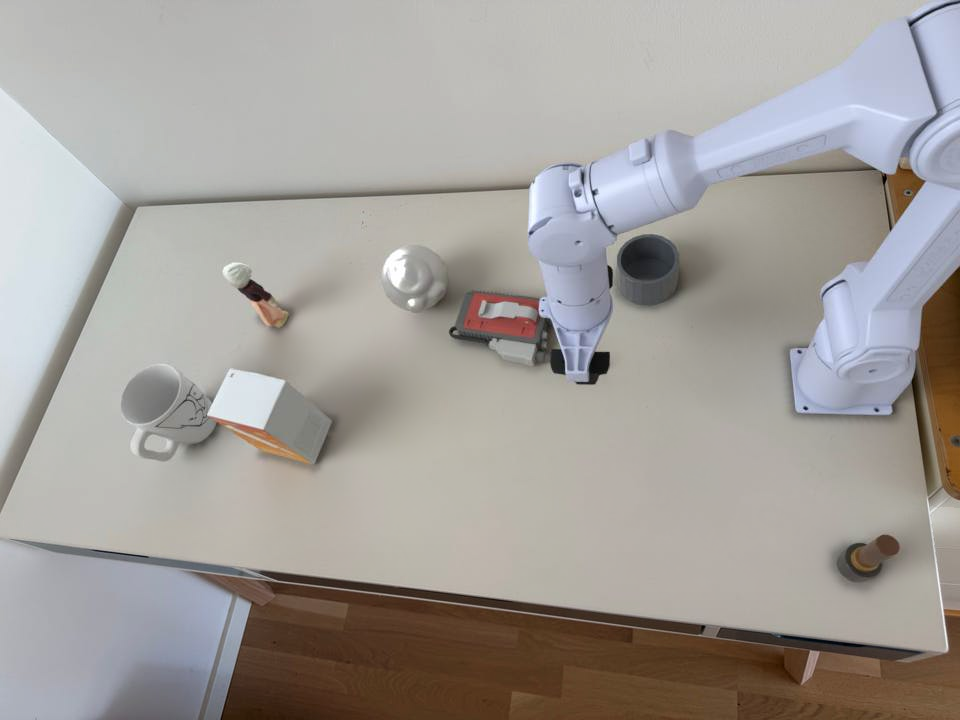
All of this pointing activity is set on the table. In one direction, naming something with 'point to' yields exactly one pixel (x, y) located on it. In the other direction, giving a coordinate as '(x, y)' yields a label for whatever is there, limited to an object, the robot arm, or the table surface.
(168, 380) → the mug
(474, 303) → the walkie-talkie
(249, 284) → the grandmother figurine
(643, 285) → the cylindrical container
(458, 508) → the table surface
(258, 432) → the small box
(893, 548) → the brush
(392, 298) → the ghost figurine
